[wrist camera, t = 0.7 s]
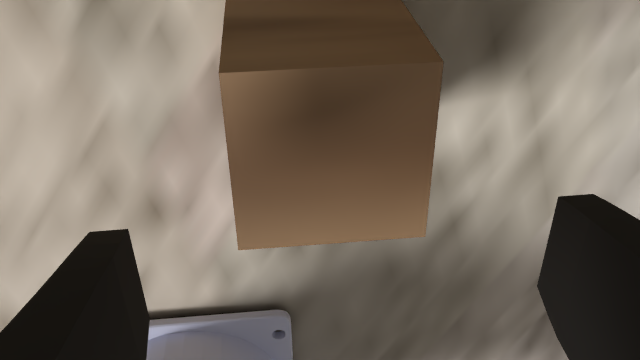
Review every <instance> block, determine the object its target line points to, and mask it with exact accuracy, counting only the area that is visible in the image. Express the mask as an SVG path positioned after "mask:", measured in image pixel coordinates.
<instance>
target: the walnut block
mask: <svg viewBox="0 0 640 360" xmlns="http://www.w3.org/2000/svg"><path fill="white" fill-rule="evenodd" d="M442 72H443V60H442V59H441V57H440V56H439V54H438V53H437V52H436V50H435V49H434V47H433V46H432V44H431V43H430V41H429V40H428V38H427V37H426V36H425V34H424V33H423V31H422V30H421V28H420V27H419V25H418V24H417V22H416V21H415V20H414V18H413V17H412V15H411V14H410V12H409V11H408V9H407V8H406V7H405V5H404V4H403V2H402V1H401V0H226V3H225V14H224V24H223V35H222V45H221V56H220V66H219V79H220V88H221V97H222V106H223V115H224V124H225V133H226V142H227V151H228V160H229V169H230V178H231V188H232V197H233V206H234V215H235V224H236V233H237V242H238V250H248V249H261V248H275V247H289V246H303V245H316V244H330V243H344V242H358V241H371V240H385V239H399V238H413V237H425V234H426V224H427V215H428V205H429V196H430V186H431V177H432V167H433V158H434V148H435V138H436V129H437V119H438V110H439V100H440V91H441V81H442Z"/></svg>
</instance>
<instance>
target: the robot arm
mask: <svg viewBox="0 0 640 360" xmlns="http://www.w3.org/2000/svg"><path fill="white" fill-rule="evenodd" d="M537 287H538V290H539V292H540V295H541V298H542V300H543V303H544V306H545V308H546V311H547V314H548V316H549V319H550V321H551V324H552V326H553V328H554V331H555V333H556V336H557V338H558V340H559V342H560V344H561V346H562V347H563V349H564V351H565V353H566V355H567V357H568V358H569V360H640V220H638V219H637V218H635V217H633V216H632V215H630V214H628V213H627V212H625V211H623V210H622V209H620V208H618V207H616V206H615V205H613V204H611V203H609V202H607V201H606V200H604V199H602V198H600V197H598V196H596V195H594V194H587V195H574V196H561V197H558V200H557V205H556V209H555V213H554V217H553V222H552V226H551V230H550V234H549V238H548V243H547V247H546V251H545V255H544V260H543V264H542V268H541V272H540V276H539V281H538V285H537ZM276 330H282V331H280V332H276ZM0 360H293V350H292V331H291V318H290V315H289V314H288V313H287V312H286V311H283V310H267V311H254V312H242V313H230V314H218V315H205V316H193V317H181V318H168V319H156V320H150V319H149V314H148V310H147V306H146V302H145V298H144V294H143V290H142V285H141V281H140V277H139V273H138V269H137V265H136V260H135V256H134V252H133V248H132V244H131V240H130V235H129V231H128V229H123V230H109V231H96V232H89V233H88V234H87V235H86V237H85V238H84V239H83V240H82V241H81V242H80V243H79V244H78V245H77V247H76V248H75V249H74V250H73V251H72V252H71V253H70V255H69V256H68V257H67V258H66V259H65V260H64V262H63V263H62V264H61V265H60V266H59V267H58V269H57V270H56V271H55V272H54V273H53V274H52V276H51V277H50V278H49V279H48V280H47V281H46V282H45V284H44V285H43V286H42V287H41V288H40V289H39V290H38V292H37V293H36V294H35V295H34V296H33V297H32V298H31V299H30V301H29V302H28V303H27V304H26V305H25V306H24V307H23V308H22V309H21V310H20V312H19V313H18V314H17V315H16V316H15V317H14V318H13V319H12V320H11V321H10V323H9V324H8V325H7V326H6V327H5V328H4V329H3V330H2V331H1V332H0Z"/></svg>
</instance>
